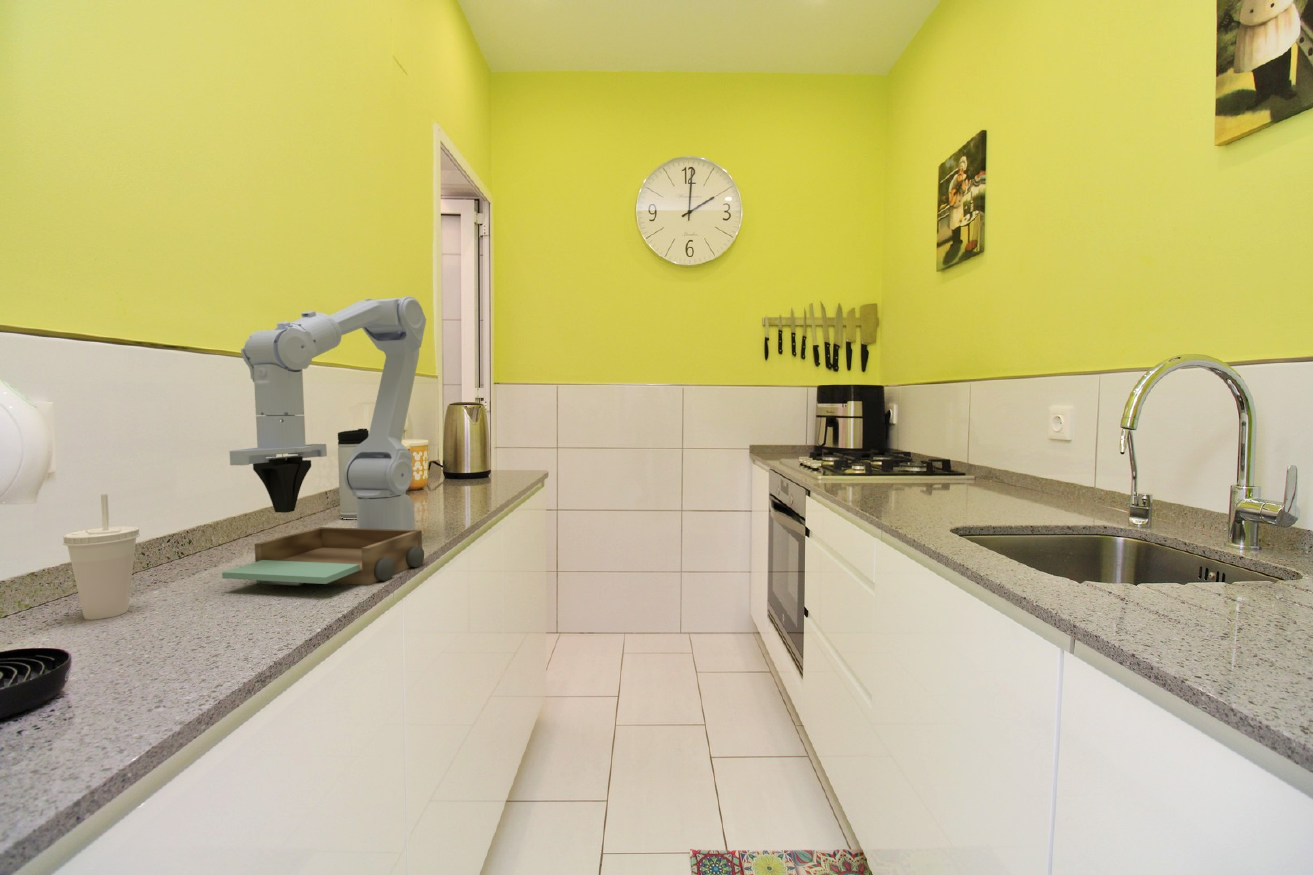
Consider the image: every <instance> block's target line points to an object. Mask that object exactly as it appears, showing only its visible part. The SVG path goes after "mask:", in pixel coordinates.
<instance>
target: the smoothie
mask: <svg viewBox="0 0 1313 875" xmlns="http://www.w3.org/2000/svg"><path fill="white" fill-rule="evenodd" d="M108 496H109V495H108V493H102V494H100V500H101V501H100V502H101V505H100V506H101V520H102V521H101V523H102V527H99V528H98V527H97V528H90V529H85V530H84V529H83V530H79V531H73V532H69V533H67V534H64V535H63V543H62V545H64V546H67V550H68V554H69V558H70V560H69V561H70V562H71V567H72V571H73V577H74V579H75V584H76V588H77V592H78V598H79V602H80V606H81V611H82V615H83V618H84V620H92V621H93V620H102V619H108V618H113V617H117V616H120V615H123V614H125V613H127V612H128V611H129V604H130V594H131V587H132V586H131V585H132V577H133V569H134V562H135V552H136V541H137V538H138V537H140V528H139V527H138V526H130V525H129V526H127V525H125V526H123V525H121V526H110V514H109V497H108Z"/></svg>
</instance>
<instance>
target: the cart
mask: <svg viewBox="0 0 1313 875" xmlns="http://www.w3.org/2000/svg"><path fill="white" fill-rule="evenodd" d="M422 531H423V530H422V529H421V530H420V529H415V530H394V529H362V528H357V527H355V528H354V527H324V526H319V527H316V528H312V529H308V530H305V531H300V532H296V533H293V534H287V535H285V536H284V535H283V536H280V537H276V538H273V539H268V540H264V541H260V542H256V543H254V562H257V561H261V560H273V561H295V562H317V563H339V564H360V570H359V571H357V572H354V573H352V574H349V575H347V576H344V577H342V578H339V579H337V580H334V581H332V582H329V583H328V584H335V585H336V584H337V585H338V584H340V585H355V586H356V585H357V586H358V585H361V586H371V585H373V584H375V583H378V582H380V581H384V582H385V581H387V582H388V581H389V580H391V579H392V577H393V576H394V575H397V574H399V573H401V572H403V571H406V570H408V569H411V568H420V567H421V566H422V565H423V562H424V560H425V550H424V549H423V537H422V536H423V533H422Z"/></svg>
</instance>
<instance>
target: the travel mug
mask: <svg viewBox="0 0 1313 875" xmlns="http://www.w3.org/2000/svg"><path fill="white" fill-rule="evenodd" d="M369 431H370V429H368V428H357V429H352V430H344V431H340V432H337V441H338V442H337V457H338V458H337V459H338V460H337V462H338V465H337V466H338V486H339V488H338V493H339V494H338V495H339V511H340V512H339V517H340V516H341V517H343V518H357V505H356V496H352V491H351V490H349V489H348V487H347V486H346V484H345V481H344V471H345V467H346V465H347V463H348V462H349V461H350V459H351V457H352V454H353V450H354V448H355V447H357V446H358V445H359V444H360V443H362V442H363V441H364V440H366V439H367V438H368V436H369Z"/></svg>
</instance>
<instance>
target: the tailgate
mask: <svg viewBox="0 0 1313 875" xmlns="http://www.w3.org/2000/svg"><path fill="white" fill-rule="evenodd" d="M359 570H360V564H339V563H317V562H295V561H273V560H261V561H257V562H255V561H254V562H251V563H248V564H245V565H242V566H238V567H234V568H232V569H228V570H225V571H222V572H221V574H222V576H221V577H222V579H227V580H228V579H230V580H247V581H248V580H249V581H257V583H258V584H261V585H262V584H263V585H276V586H278V585H280V586H297V587H301V586H302V585H303V584H304V583H305V584H323V585H326V584H330V583H329V582H332V581H334V580H337V579H339V578H342V577H344V576H347V575H349V574H352V573H354V572H357V571H359Z"/></svg>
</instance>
